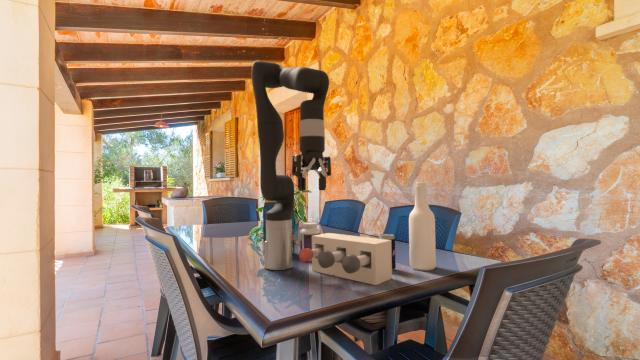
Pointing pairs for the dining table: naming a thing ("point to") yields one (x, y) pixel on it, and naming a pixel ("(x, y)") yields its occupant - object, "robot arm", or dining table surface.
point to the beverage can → (392, 238)
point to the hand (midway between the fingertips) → (312, 190)
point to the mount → (357, 246)
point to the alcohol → (422, 232)
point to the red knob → (309, 253)
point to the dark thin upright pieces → (267, 206)
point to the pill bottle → (308, 235)
